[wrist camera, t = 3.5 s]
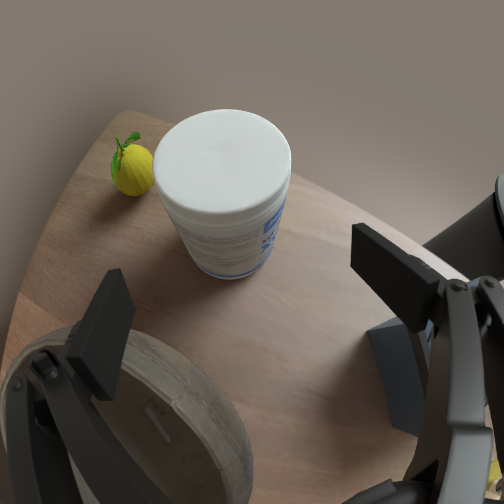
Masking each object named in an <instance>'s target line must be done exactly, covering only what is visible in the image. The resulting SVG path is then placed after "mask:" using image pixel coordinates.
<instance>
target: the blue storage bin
mask: <svg viewBox="0 0 504 504" xmlns="http://www.w3.org/2000/svg"><path fill="white" fill-rule="evenodd" d="M479 279H480V277H479V278H477V279H474V280H472V281H469V282H467V284H468V285H469V287H470V286H477V285H478V282H479ZM488 323H489V325H490V324H491V317H489V319H488ZM432 326H433V323H432V322H431V321H430V320H428V323H427V326H426V329H425V330H423V331H421V332H419V333H417V334H414V335H413V334H412V333H411V331H410V330H409V329H408V328H407V327H406V326H405V325H404V323H403V322H402V321H401V320H400V319H399V318H398V317H395V318H393V319H391V320H389V321H387V322H384V323H382V324H380V325H378V326H376V327H374V328H371V329H369V330H367V331H368V334H369V338H370V341H371V344H372V347H373V351H374V354H375V357H376V361H377V364H378V368H379V371H380V375H381V379H382V383H383V386H384V390H385V394H386V398H387V402H388V406H389V411H390V415H391V420H392V424H393V427H395V428H397V429H399V430H401V431H404V432H406V433H408V434H411V435H413V436H416V437H418V438H419V433H420V428H421V423H422V418H423V413H424V407H425V400H426V393H427V385H428V376H429V365H430V350H431V339H430V340H429V342H427V340H428V337H429V334H430V331H431V329H432ZM487 405H488V400H487V396H486V392H485V407H486V406H487Z"/></svg>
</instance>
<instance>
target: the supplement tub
mask: <svg viewBox="0 0 504 504" xmlns="http://www.w3.org/2000/svg"><path fill="white" fill-rule="evenodd" d="M290 167H291V152H290V148H289V145H288V143H287V141H286V139H285V137H284V136H283V134H282V133H281V132H280V131H279V129H278V128H276V127H275V126H274V125H273V124H271V123H270V122H269V121H267V120H266V119H264V118H262V117H260V116H257V115H255V114H252V113H248V112H245V111H240V110H230V109H227V110H226V109H224V110H212V111H207V112H203V113H199V114H197V115H194V116H191V117H189V118H187V119H185V120H183V121H182V122H180V123H179V124H177V125H176V126H174V127H173V128H172V129H171V130H170V131H169V132H168V133H167V134H166V135H165V136H164V137H163V139H162V140H161V141H160V143H159V145H158V147H157V149H156V151H155V153H154V157H153V162H152V173H153V178H154V181H155V183H156V188H157V192H158V194H159V197H160V199H161V201H162V203H163V205H164V207H165V209H166V211H167V213H168V215H169V217H170V218H171V220H172V222H173V224H174V226H175V228H176V230H177V232H178V234H179V235H180V237H181V239H182V241H183V243H184V245H185V247H186V248H187V250H188V252H189V254H190V256H191V257H192V259H193V261H194V262H195V263H196V265H197V266H198V267H199V268H200V269H202V270H203V271H204V272H206V273H207V274H209V275H211V276H214V277H216V278H220V279H239V278H243V277H246V276H248V275H250V274H252V273H254V272H255V271H257V270H258V269H259V268H261V267H262V266H263V264H264V263H265V262H266V261H267V259H268V257H269V256H270V254H271V251H272V248H273V244H274V241H275V237H276V233H277V229H278V226H279V222H280V218H281V214H282V210H283V207H284V203H285V199H286V195H287V190H288V186H289V181H290V174H291V169H290Z"/></svg>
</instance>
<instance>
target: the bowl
mask: <svg viewBox="0 0 504 504" xmlns="http://www.w3.org/2000/svg"><path fill="white" fill-rule="evenodd" d="M72 327H73V326H71V327H67V328H62V329H58V330H56V331H54V332H51V333H49V334H47V335H45V336H43V337H40V338H38V339H36V340H34V341H33V342H31V343H30V344H28V345H27V346H26V347H25V348H24V349H23V350H22V351H21V353H20V354H19V355H18V356H17V357H16V358H15V359H14V360H13V362H12V363H11V365H10V367H9V369H8V371H7V374H6V376H5V379H4V382H3V384H2V387H1V393H0V427H1V433H2V438H3V443H4V447H5V450H6V452H7V446H6V395H7V386H8V383H9V381H10V379H11V378H12V377H13V376H15V375H16V374H19V373H23V374H25V375H26V376H27V378H28V379H29V380H30V381H31V380H34V379H37V377H36V375H35V374H34V373H33V372H32V370H31V369H30V368H29V366H28V361H29V359H30V357H31V356H32V354H33V353H34V352H35V351H37V350H38V349H40V348H43V347H48V348H51V350H52V351H53V352H54V354H55V355H56V357H57V358H58V356H59V354H60V352H61V350H62V348H63V345H64V343H65V341H66V339H67V337H68V335H69V333H70V331H71V329H72ZM90 400H91V401H92V403H93V404H94V405H95V407H96V408H97V410H98V411H99V413H100V414H101V416H102V417H103V419H104V421H105V422H106V423H107V425H108V426H109V428H110V429H111V431H112V432H113V434H114V435H115V436H116V438H117V439H118V440H119V442H120V443H121V444H122V446H123V447H124V448H125V450H126V451H127V452H128V453H129V455H130V456H131V457H132V458H133V460H134V461H135V462H136V463H137V464H138V466H139V467H140V468H141V469H142V470H143V471H144V473H145V474H146V475H147V476H148V477H149V478H150V479H151V480H152V481H153V482H154V484H155V485H156V486H157V487H158V488H159V489H160V490H161V491H162V492H163V493H164V494H165V495H166V496H167V497H168V498H169V499H170V500H171V501H172V502H173V503H174V504H248V501H249V498H250V495H251V492H252V486H253V455H252V451H251V447H250V442H249V438H248V437H247V434H246V431H245V428H244V425H243V423H242V421H241V419H240V417H239V415H238V412H237V411H236V409H235V408H234V406H233V404H232V403H231V402H230V400H229V399H228V398H227V396H226V395H225V394H224V392H223V391H222V390H221V389H220V388H219V387H218V386H217V385H216V384H215V383H214V382H213V381H212V379H211V378H209V377H208V376H207V375H206V374H205V373H204V372H203V371H202V370H201V369H199V368H198V367H197V366H196V365H195V364H194V363H192V362H191V361H190V360H188V359H187V358H186V357H185V356H183V355H182V354H181V353H180V352H178V351H177V350H175V349H173V348H172V347H170V346H168V345H167V344H165V343H163V342H162V341H160V340H158V339H156V338H154V337H152V336H149V335H147V334H145V333H143V332H139V331H135V330H132V329H130V332H129V336H128V339H127V343H126V347H125V351H124V355H123V359H122V364H121V368H120V372H119V377H118V382H117V386H116V391H115V396H114V401H98V399H97V398H96V397H95V396H94V395H93V393H92V395H91V399H90ZM67 451H68V450H67ZM68 455H69V459H70V463H71V466H72V470H73V473H74V476H75V480H76V483H77V486H78V489H79V492H80V495H81V497H82V500H83V503H84V504H100V503H99V502H98V500H97V499H96V497H95V496H94V494H93V493H92V491H91V490H90V488H89V487H88V485H87V484H86V482H85V480H84V479H83V477H82V475H81V474H80V472H79V470H78V468H77V467H76V465H75V463H74V461H73V459H72V457H71V455H70V454H69V452H68Z"/></svg>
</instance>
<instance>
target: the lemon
mask: <svg viewBox="0 0 504 504" xmlns="http://www.w3.org/2000/svg"><path fill="white" fill-rule="evenodd" d="M115 138H116V140H117V143H118V147H120V149H119V150H118V147H117V150H116V152H115V154H114V156H113V159H112V163H111V175H112V179H113V181H114V183H115V187H116V186H117V187H116V191H117V188H118V189H119V190H120V191H121V192H123V193H124V194H126V195H130V196H139V195H142V194H144V193H145V192H147V191H148V190H149V189H150V188H151V186H152V185H153V184H154V182H155V181H154V178H153V173H152V162H153V156H152V155H151V154H150V153H149V151H148V150H147V149H146V148H144V147H142V146H140V145H135V144H129V145H125V146H123V147H122V145H124V144H126V143H130V142H133V141H136V140H138V139H140V134H139V133H138V132H133V133H132V134H131V135H130V136H129V137H128V139H127V141H126V142H125V143H124V144H122V145H121V144H120V141H119V139H118V137H117V136H115Z"/></svg>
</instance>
